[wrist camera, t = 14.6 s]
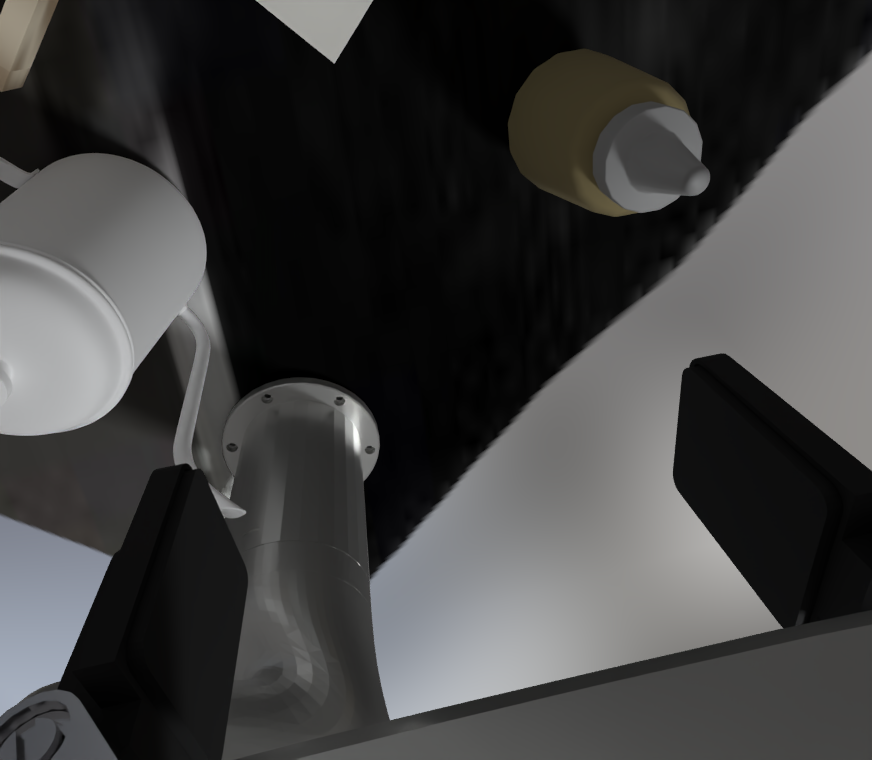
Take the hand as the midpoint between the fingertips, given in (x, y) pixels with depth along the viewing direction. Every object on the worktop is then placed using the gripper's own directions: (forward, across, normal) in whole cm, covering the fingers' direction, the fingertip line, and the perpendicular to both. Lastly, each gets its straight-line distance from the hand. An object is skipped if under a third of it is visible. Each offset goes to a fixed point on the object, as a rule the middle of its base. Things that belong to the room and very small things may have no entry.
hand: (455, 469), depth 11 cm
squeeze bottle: (+32, -12, -1) cm, 34 cm away
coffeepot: (+32, +16, +2) cm, 36 cm away
